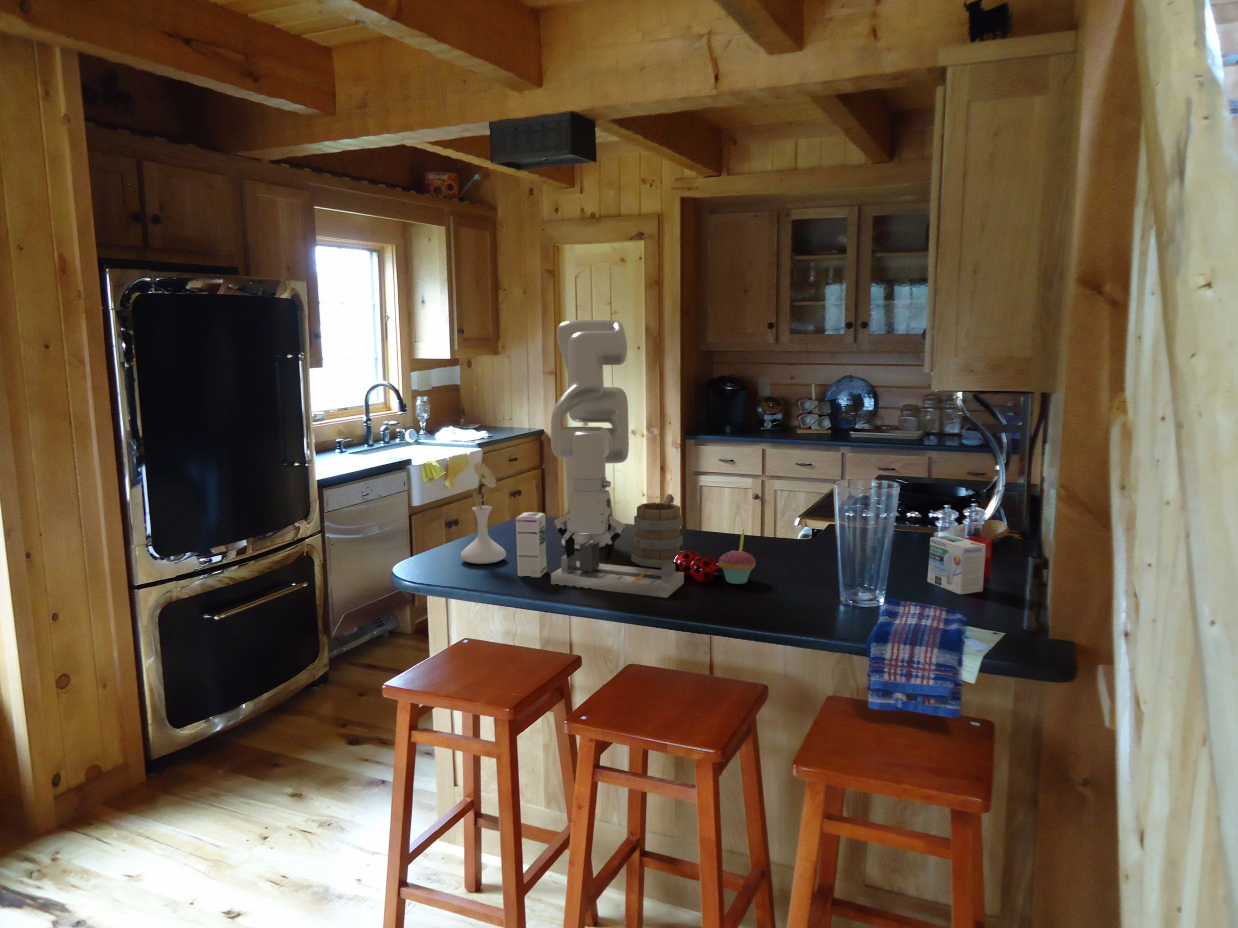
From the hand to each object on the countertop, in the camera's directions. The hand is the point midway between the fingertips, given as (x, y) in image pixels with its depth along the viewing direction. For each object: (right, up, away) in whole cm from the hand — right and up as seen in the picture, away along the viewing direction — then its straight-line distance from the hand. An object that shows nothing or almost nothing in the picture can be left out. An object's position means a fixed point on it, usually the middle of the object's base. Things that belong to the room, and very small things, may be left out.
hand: (589, 557), depth 202 cm
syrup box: (-14, -5, +7) cm, 16 cm away
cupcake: (+34, -6, +1) cm, 35 cm away
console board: (+6, -6, -1) cm, 9 cm away
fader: (0, -3, +1) cm, 3 cm away
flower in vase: (-28, -3, +19) cm, 33 cm away
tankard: (+18, -2, +22) cm, 28 cm away
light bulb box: (+83, -6, -4) cm, 83 cm away
